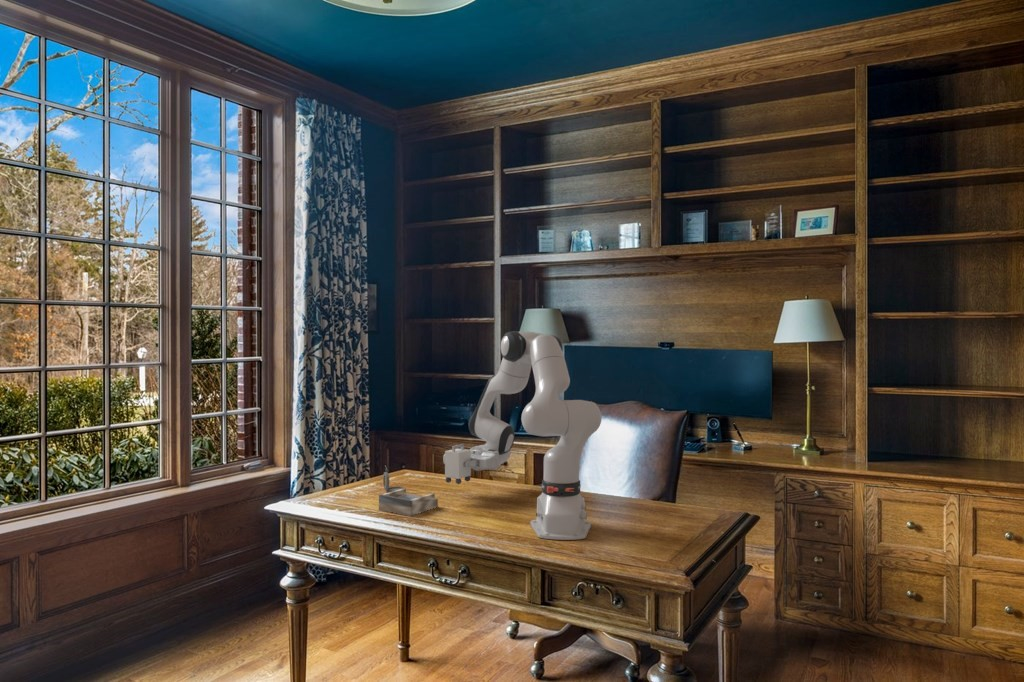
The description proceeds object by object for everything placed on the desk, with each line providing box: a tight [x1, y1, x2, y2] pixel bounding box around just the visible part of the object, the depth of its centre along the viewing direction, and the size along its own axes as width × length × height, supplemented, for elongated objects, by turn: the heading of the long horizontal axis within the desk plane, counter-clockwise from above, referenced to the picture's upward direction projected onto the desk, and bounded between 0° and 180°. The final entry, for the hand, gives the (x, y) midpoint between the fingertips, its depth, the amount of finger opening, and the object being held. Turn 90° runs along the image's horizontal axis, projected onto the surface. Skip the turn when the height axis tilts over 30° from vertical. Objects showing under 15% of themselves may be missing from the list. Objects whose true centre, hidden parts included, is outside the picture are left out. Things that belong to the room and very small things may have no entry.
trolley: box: [444, 443, 472, 485], centre depth 239 cm, size 7×6×13 cm
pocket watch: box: [382, 465, 404, 493], centre depth 256 cm, size 8×8×10 cm
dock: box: [378, 487, 439, 517], centre depth 231 cm, size 14×14×5 cm
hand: (456, 463), depth 238 cm, fingers closed on trolley, 6 cm apart
